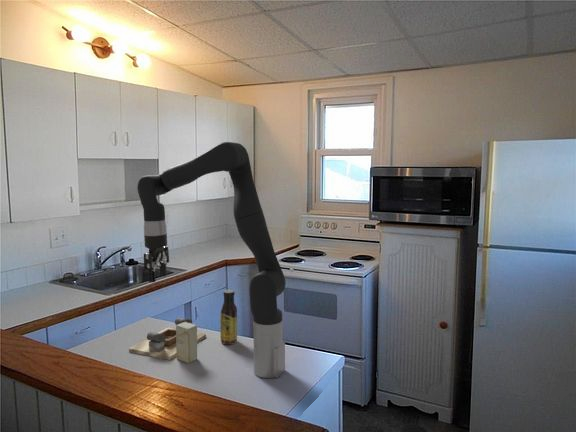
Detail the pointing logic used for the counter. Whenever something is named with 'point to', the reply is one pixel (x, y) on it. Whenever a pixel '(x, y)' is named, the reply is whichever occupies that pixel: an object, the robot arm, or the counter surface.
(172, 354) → the board
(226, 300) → the sauce bottle
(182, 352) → the skincare box
